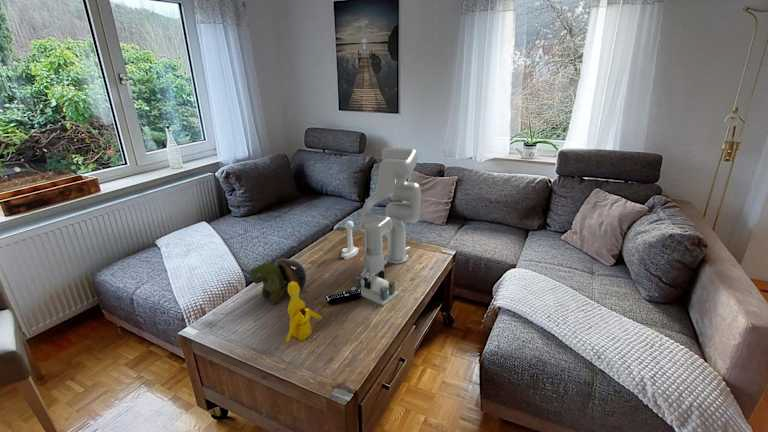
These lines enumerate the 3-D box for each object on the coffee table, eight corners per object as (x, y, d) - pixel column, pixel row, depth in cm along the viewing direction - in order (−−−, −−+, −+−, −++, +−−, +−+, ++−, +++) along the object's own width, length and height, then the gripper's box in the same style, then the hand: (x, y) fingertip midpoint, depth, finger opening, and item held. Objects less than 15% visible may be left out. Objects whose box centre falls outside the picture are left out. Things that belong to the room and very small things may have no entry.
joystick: (347, 259, 198) (345, 225, 191) (336, 256, 202) (334, 222, 195) (360, 252, 206) (359, 218, 199) (349, 248, 210) (348, 216, 203)
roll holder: (366, 281, 177) (366, 269, 175) (398, 294, 166) (398, 282, 164) (351, 291, 169) (350, 278, 167) (383, 306, 158) (383, 293, 156)
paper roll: (367, 281, 174) (366, 269, 171) (392, 291, 165) (392, 279, 163) (357, 287, 169) (356, 275, 167) (383, 299, 161) (382, 286, 158)
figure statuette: (291, 351, 133) (284, 299, 125) (276, 343, 137) (269, 292, 129) (325, 325, 146) (322, 277, 138) (311, 318, 150) (307, 271, 143)
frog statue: (307, 303, 169) (256, 313, 151) (289, 288, 179) (239, 296, 161) (315, 265, 166) (265, 270, 147) (296, 252, 176) (246, 255, 157)
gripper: (379, 240, 168) (380, 273, 175) (354, 254, 156) (355, 289, 162) (392, 244, 164) (392, 278, 170) (367, 259, 151) (368, 294, 158)
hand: (374, 283), depth 166 cm, fingers open, 9 cm apart
